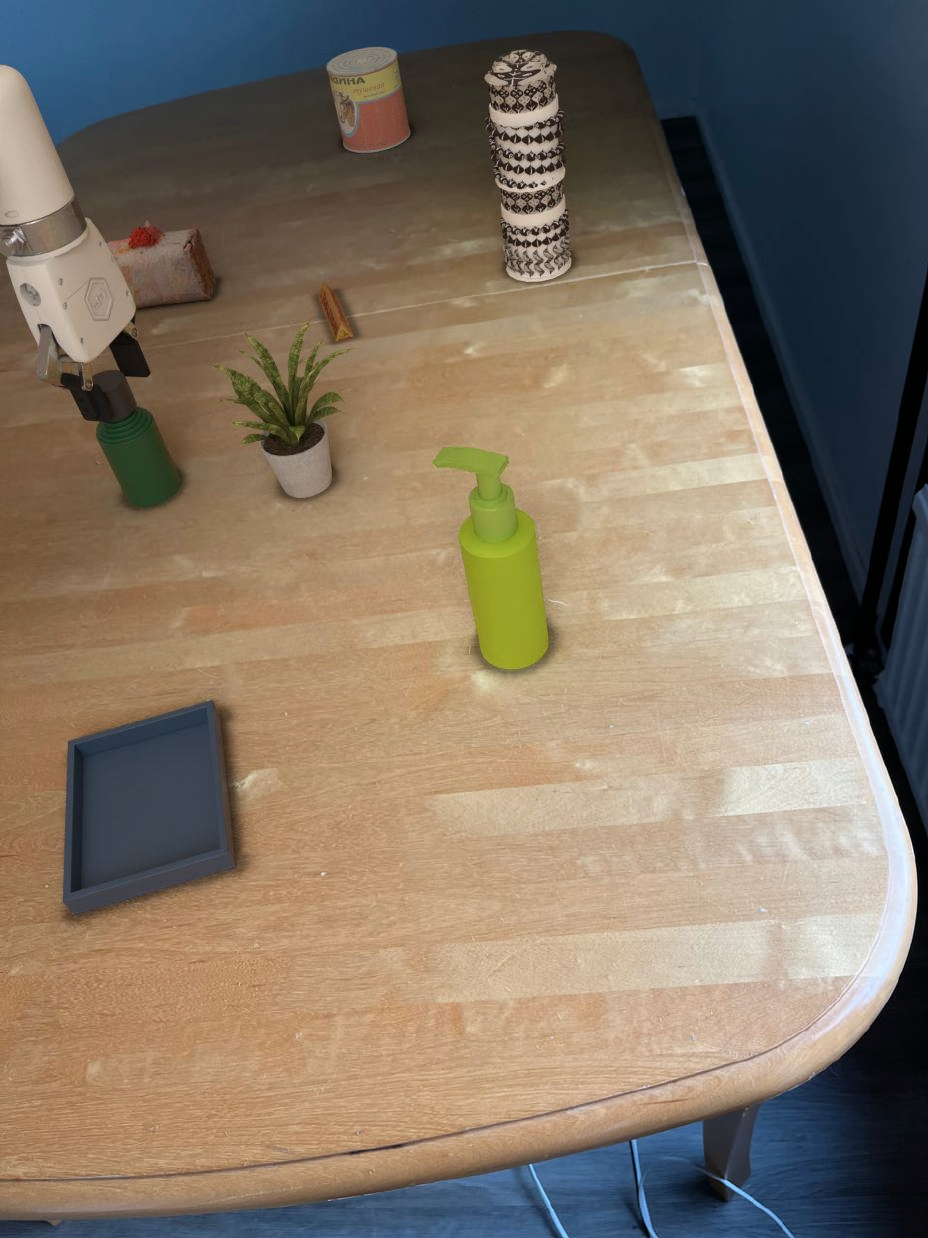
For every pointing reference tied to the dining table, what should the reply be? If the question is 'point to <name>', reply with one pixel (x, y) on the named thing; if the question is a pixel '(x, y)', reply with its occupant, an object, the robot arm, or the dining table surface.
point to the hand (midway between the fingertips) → (118, 395)
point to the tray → (146, 808)
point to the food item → (165, 266)
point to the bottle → (139, 458)
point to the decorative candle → (529, 164)
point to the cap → (116, 392)
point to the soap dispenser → (500, 563)
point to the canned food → (369, 99)
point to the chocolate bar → (334, 313)
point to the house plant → (289, 418)
